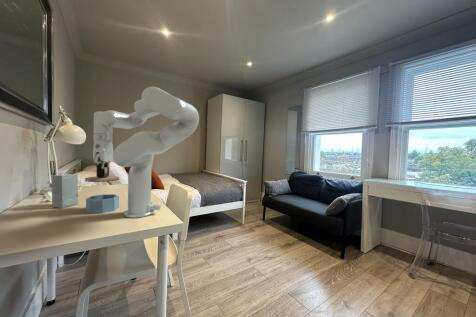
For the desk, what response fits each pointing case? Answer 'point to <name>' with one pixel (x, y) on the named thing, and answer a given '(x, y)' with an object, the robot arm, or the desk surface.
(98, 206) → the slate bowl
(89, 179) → the walnut lid
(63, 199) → the skincare box
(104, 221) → the desk surface
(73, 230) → the desk surface
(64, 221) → the desk surface
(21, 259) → the desk surface
